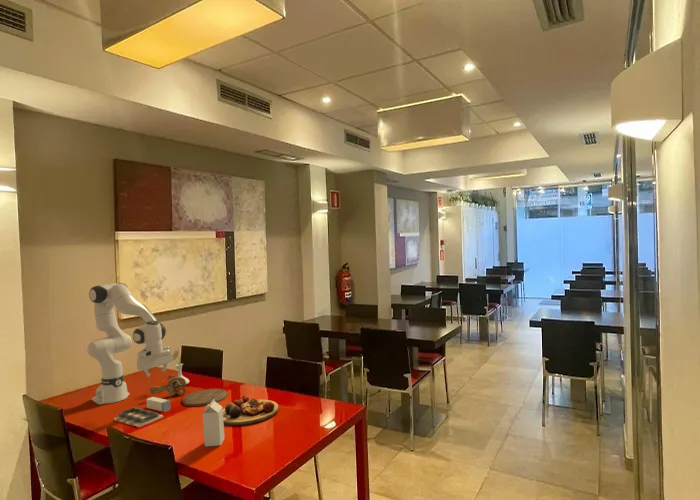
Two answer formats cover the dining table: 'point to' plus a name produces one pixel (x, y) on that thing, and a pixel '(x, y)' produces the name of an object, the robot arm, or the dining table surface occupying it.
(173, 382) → the toy cannon
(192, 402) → the trivet
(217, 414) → the milk carton
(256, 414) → the wooden plate with food
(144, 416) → the tray
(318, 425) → the dining table surface
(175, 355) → the flower in vase
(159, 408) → the white rectangular block
